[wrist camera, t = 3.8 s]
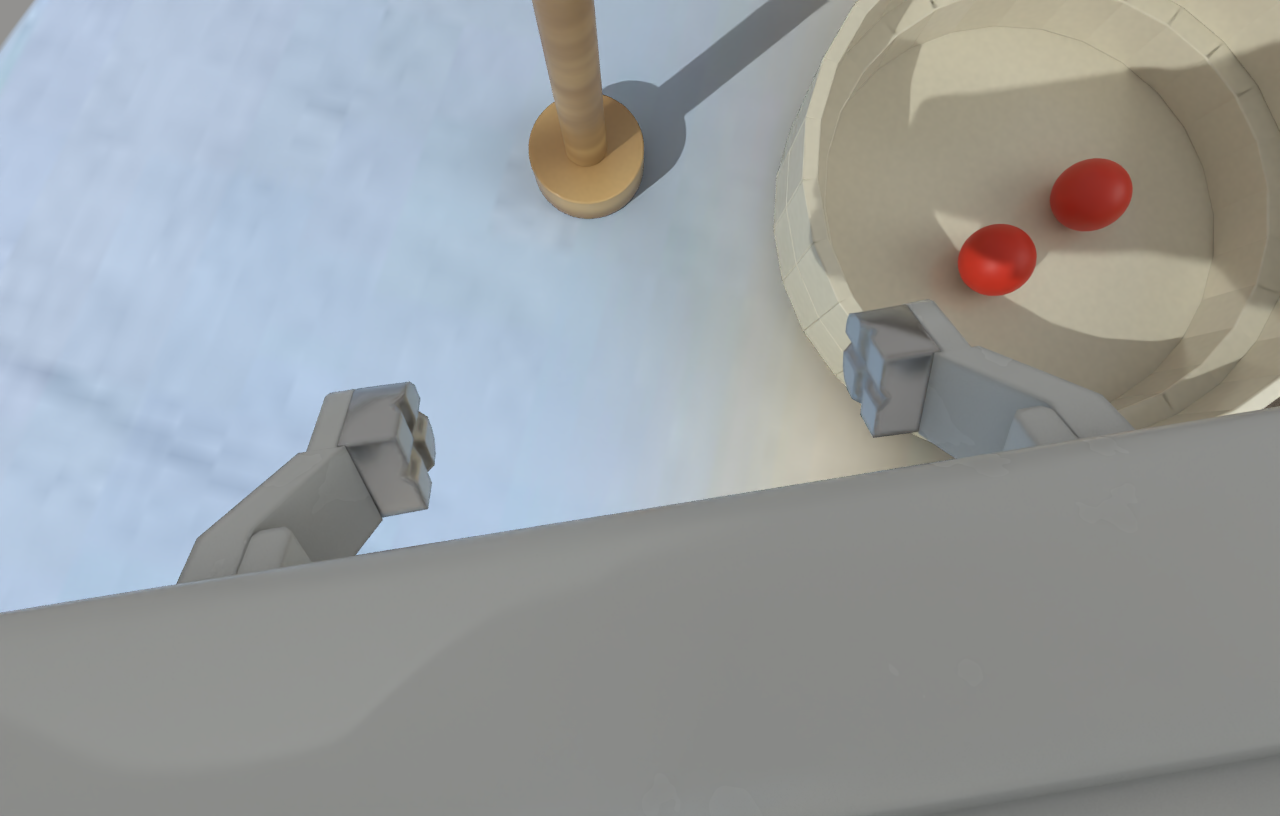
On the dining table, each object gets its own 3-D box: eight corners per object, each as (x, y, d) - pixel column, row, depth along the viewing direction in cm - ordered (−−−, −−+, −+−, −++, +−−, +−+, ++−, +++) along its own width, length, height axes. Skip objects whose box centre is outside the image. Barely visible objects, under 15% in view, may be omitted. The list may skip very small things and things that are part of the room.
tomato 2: (1115, 216, 32) (1165, 190, 29) (1062, 253, 32) (1106, 231, 29) (1075, 162, 33) (1120, 131, 30) (1022, 199, 32) (1061, 172, 29)
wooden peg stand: (664, 179, 33) (688, -53, 18) (574, 240, 33) (523, 54, 18) (603, 93, 34) (577, -206, 19) (513, 152, 33) (413, -102, 18)
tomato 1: (1026, 278, 32) (1066, 259, 29) (972, 316, 32) (1007, 300, 29) (986, 223, 32) (1022, 199, 29) (932, 261, 32) (962, 240, 29)
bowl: (1326, 285, 33) (1495, 242, 27) (953, 552, 32) (1033, 575, 26) (1047, -78, 34) (1143, -205, 28) (679, 167, 33) (690, 95, 27)
